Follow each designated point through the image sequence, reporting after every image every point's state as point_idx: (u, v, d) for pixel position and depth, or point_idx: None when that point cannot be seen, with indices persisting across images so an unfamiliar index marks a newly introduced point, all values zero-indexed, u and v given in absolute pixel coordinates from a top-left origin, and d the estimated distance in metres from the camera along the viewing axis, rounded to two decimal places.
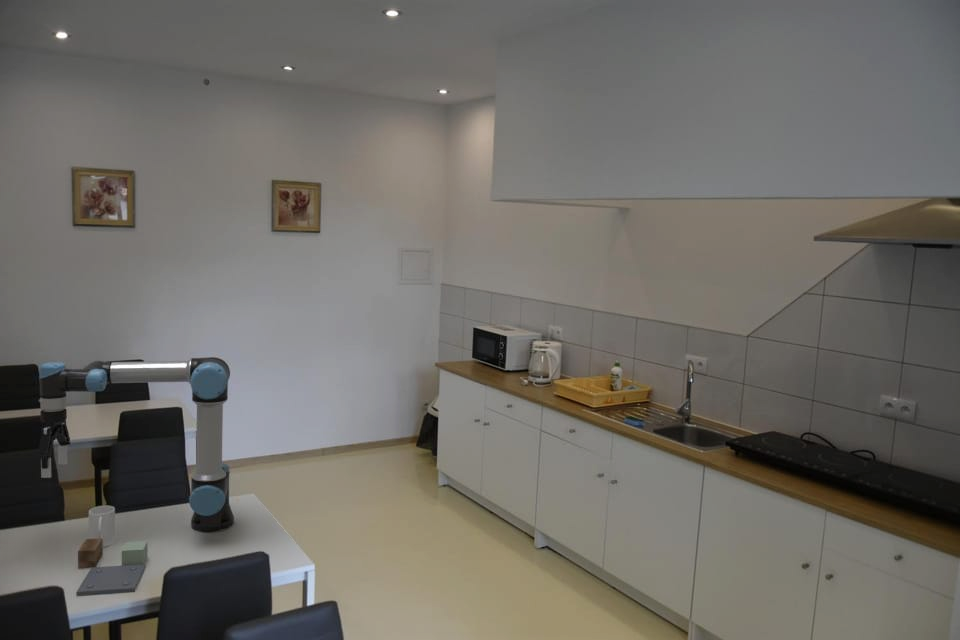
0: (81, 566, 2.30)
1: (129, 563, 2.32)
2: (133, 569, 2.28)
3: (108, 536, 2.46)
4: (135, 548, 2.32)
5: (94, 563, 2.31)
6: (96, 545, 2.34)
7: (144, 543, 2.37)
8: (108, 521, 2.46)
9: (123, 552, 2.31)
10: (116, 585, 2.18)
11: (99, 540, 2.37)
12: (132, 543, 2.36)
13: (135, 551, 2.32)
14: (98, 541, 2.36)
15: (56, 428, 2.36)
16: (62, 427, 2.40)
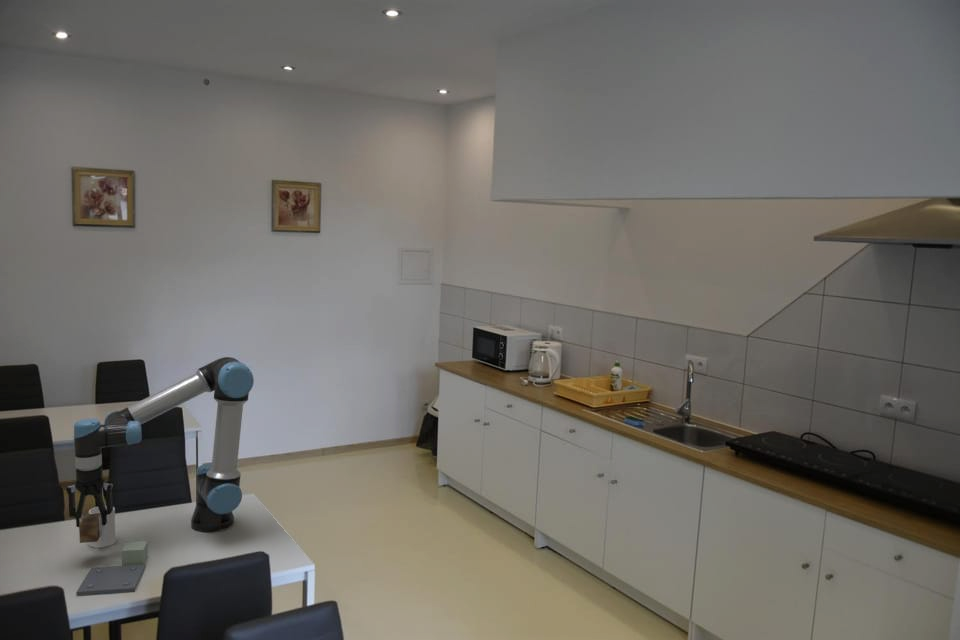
0: (83, 540, 2.29)
1: (129, 563, 2.32)
2: (133, 569, 2.28)
3: (108, 536, 2.46)
4: (135, 549, 2.32)
5: (96, 537, 2.30)
6: (97, 519, 2.33)
7: (144, 543, 2.37)
8: (108, 521, 2.46)
9: (123, 552, 2.31)
10: (116, 585, 2.18)
11: (100, 514, 2.36)
12: (132, 543, 2.36)
13: (135, 551, 2.32)
14: (99, 515, 2.36)
15: (82, 488, 2.30)
16: (93, 489, 2.30)
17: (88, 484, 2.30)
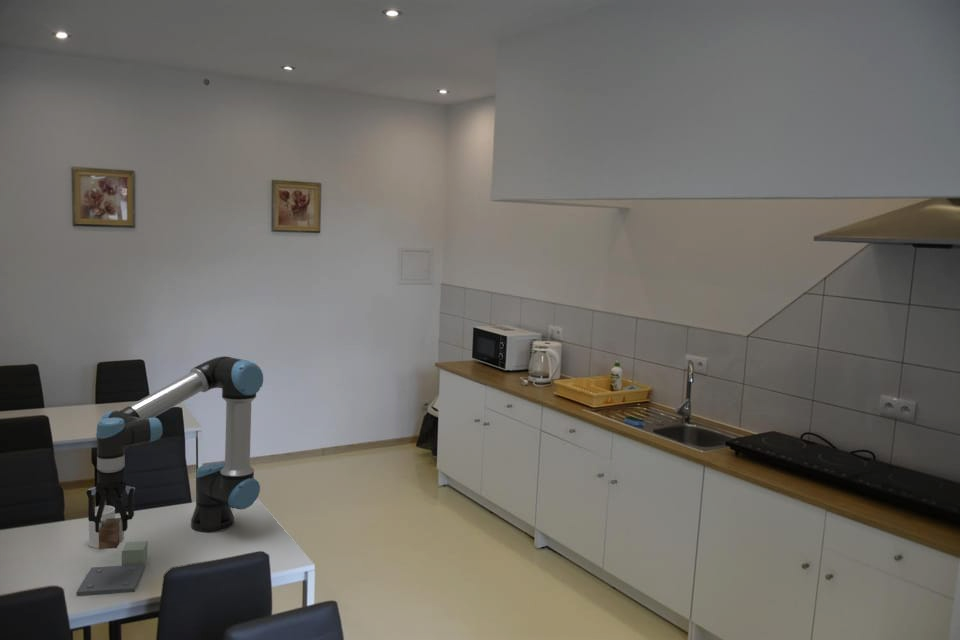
0: (102, 546, 2.16)
1: (129, 563, 2.32)
2: (133, 569, 2.28)
3: None
4: (135, 548, 2.32)
5: (116, 543, 2.17)
6: (117, 524, 2.20)
7: (144, 543, 2.37)
8: None
9: (123, 552, 2.31)
10: (116, 585, 2.18)
11: (120, 519, 2.24)
12: (132, 543, 2.36)
13: (135, 551, 2.32)
14: (119, 520, 2.23)
15: (103, 491, 2.17)
16: (115, 493, 2.18)
17: (109, 487, 2.18)
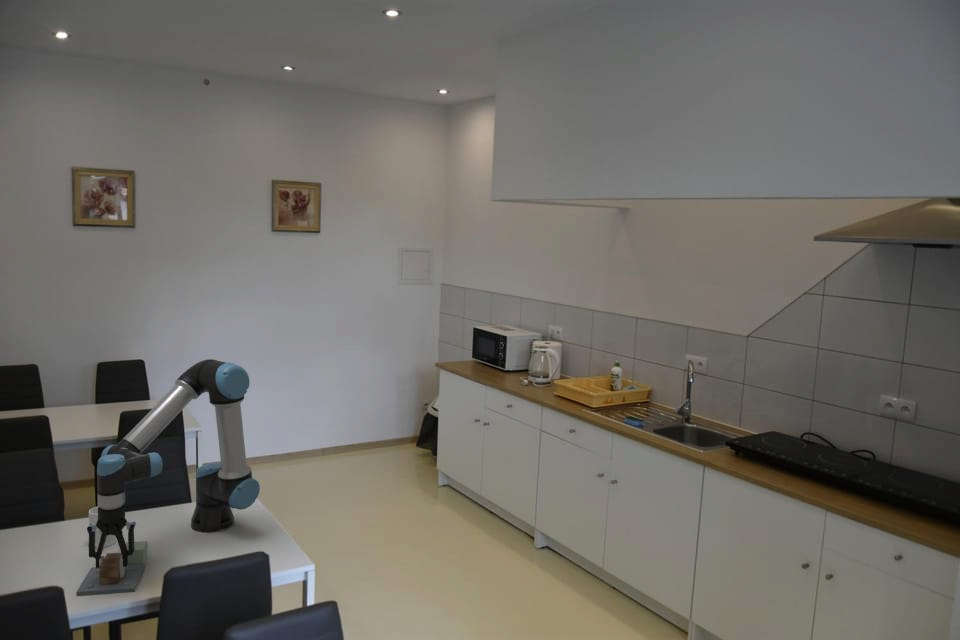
0: (102, 582, 2.18)
1: (129, 563, 2.32)
2: (133, 569, 2.28)
3: (108, 536, 2.46)
4: (135, 549, 2.32)
5: (116, 579, 2.19)
6: (118, 560, 2.21)
7: (144, 543, 2.37)
8: None
9: None
10: (116, 585, 2.18)
11: (121, 554, 2.25)
12: None
13: (135, 551, 2.32)
14: (120, 555, 2.24)
15: (103, 527, 2.19)
16: (115, 529, 2.19)
17: (110, 523, 2.19)
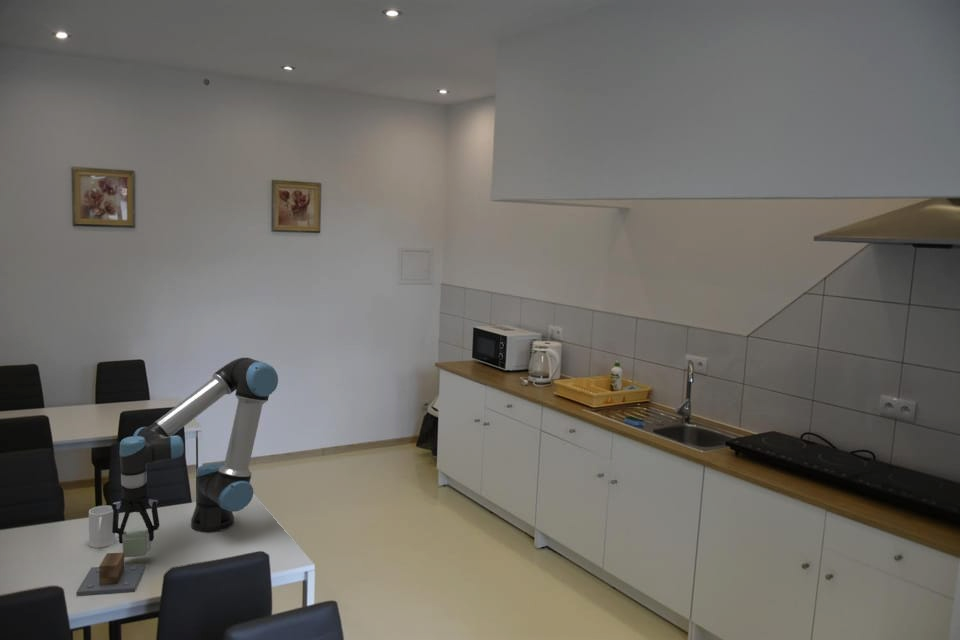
0: (102, 582, 2.18)
1: (131, 552, 2.32)
2: (133, 569, 2.28)
3: (108, 536, 2.46)
4: (136, 538, 2.32)
5: (116, 579, 2.19)
6: (118, 560, 2.21)
7: None
8: (108, 521, 2.46)
9: (125, 541, 2.31)
10: (116, 585, 2.18)
11: (121, 554, 2.25)
12: (134, 532, 2.36)
13: (137, 540, 2.32)
14: (120, 555, 2.24)
15: (127, 505, 2.31)
16: (139, 506, 2.32)
17: (133, 501, 2.32)
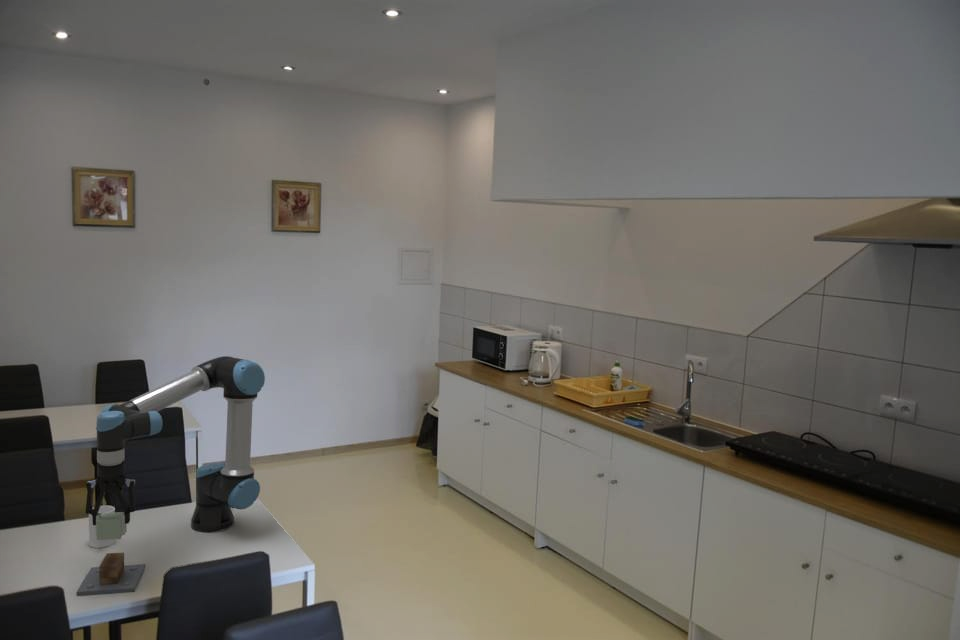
0: (102, 582, 2.18)
1: (105, 534, 2.17)
2: (133, 569, 2.28)
3: None
4: (111, 519, 2.18)
5: (116, 579, 2.19)
6: (118, 560, 2.21)
7: None
8: None
9: (98, 522, 2.16)
10: (116, 585, 2.18)
11: (121, 554, 2.25)
12: (109, 514, 2.22)
13: (111, 522, 2.17)
14: (120, 555, 2.24)
15: (103, 484, 2.17)
16: (115, 486, 2.18)
17: (109, 480, 2.18)
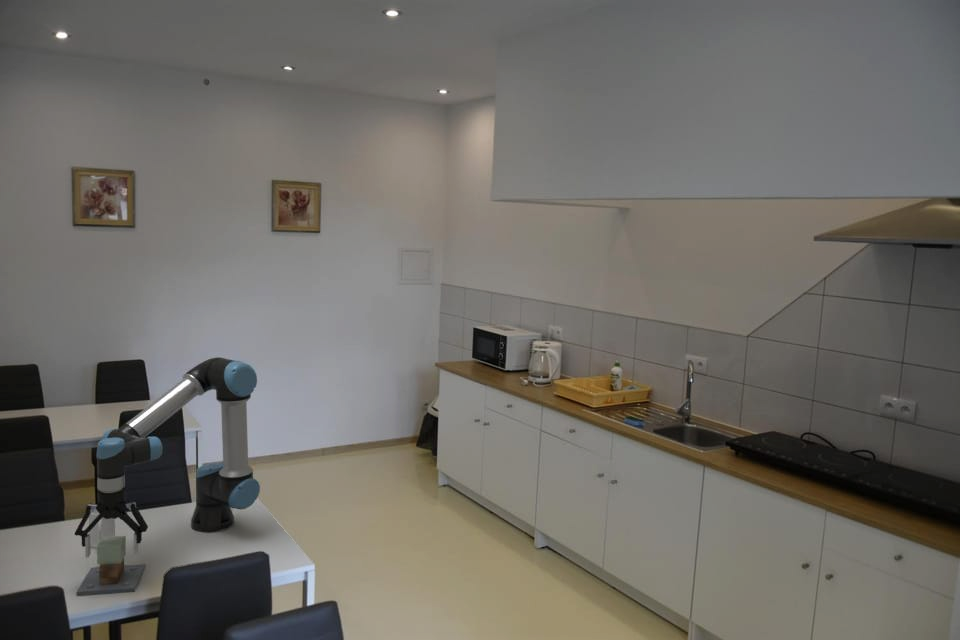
0: (102, 582, 2.18)
1: (105, 559, 2.18)
2: (133, 569, 2.28)
3: (108, 536, 2.46)
4: (111, 544, 2.19)
5: (116, 579, 2.19)
6: None
7: (122, 538, 2.23)
8: (108, 521, 2.46)
9: (99, 547, 2.17)
10: (116, 585, 2.18)
11: None
12: (109, 538, 2.23)
13: (112, 546, 2.18)
14: None
15: (103, 510, 2.18)
16: (116, 512, 2.19)
17: (110, 507, 2.19)
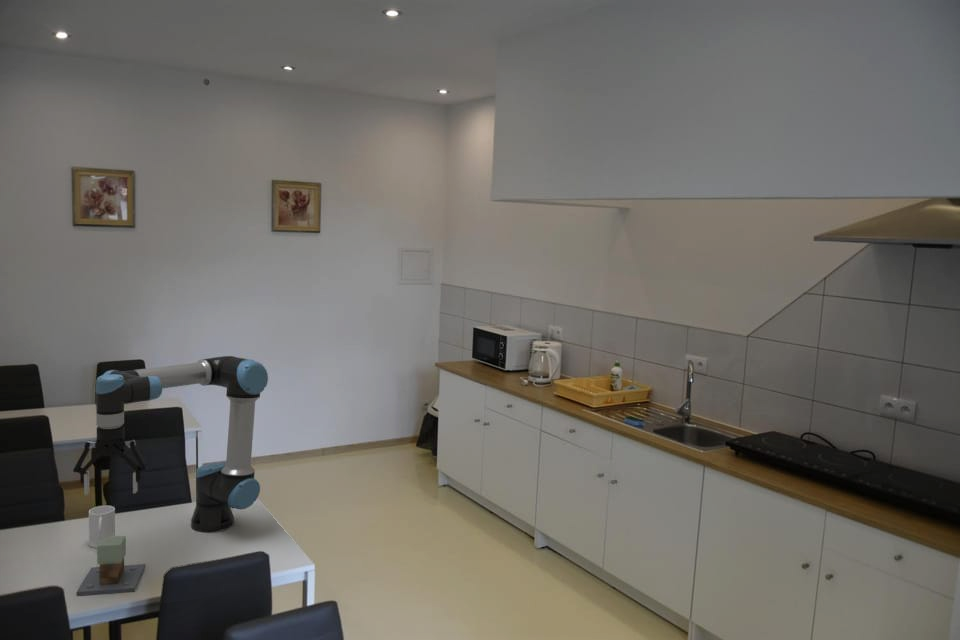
0: (102, 582, 2.18)
1: (105, 559, 2.18)
2: (133, 569, 2.28)
3: (108, 536, 2.46)
4: (111, 544, 2.19)
5: (116, 579, 2.19)
6: None
7: (122, 538, 2.23)
8: (108, 521, 2.46)
9: (99, 547, 2.17)
10: (116, 585, 2.18)
11: None
12: (109, 538, 2.23)
13: (112, 546, 2.18)
14: None
15: (102, 446, 2.16)
16: (115, 449, 2.16)
17: (109, 444, 2.16)
